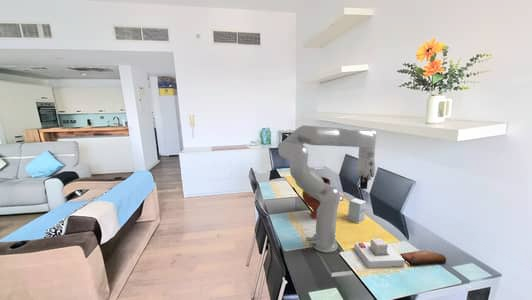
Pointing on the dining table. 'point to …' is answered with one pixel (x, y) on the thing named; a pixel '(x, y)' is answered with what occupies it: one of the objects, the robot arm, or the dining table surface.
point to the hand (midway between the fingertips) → (363, 188)
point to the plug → (378, 247)
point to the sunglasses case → (423, 257)
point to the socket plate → (378, 261)
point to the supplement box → (356, 210)
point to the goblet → (313, 200)
